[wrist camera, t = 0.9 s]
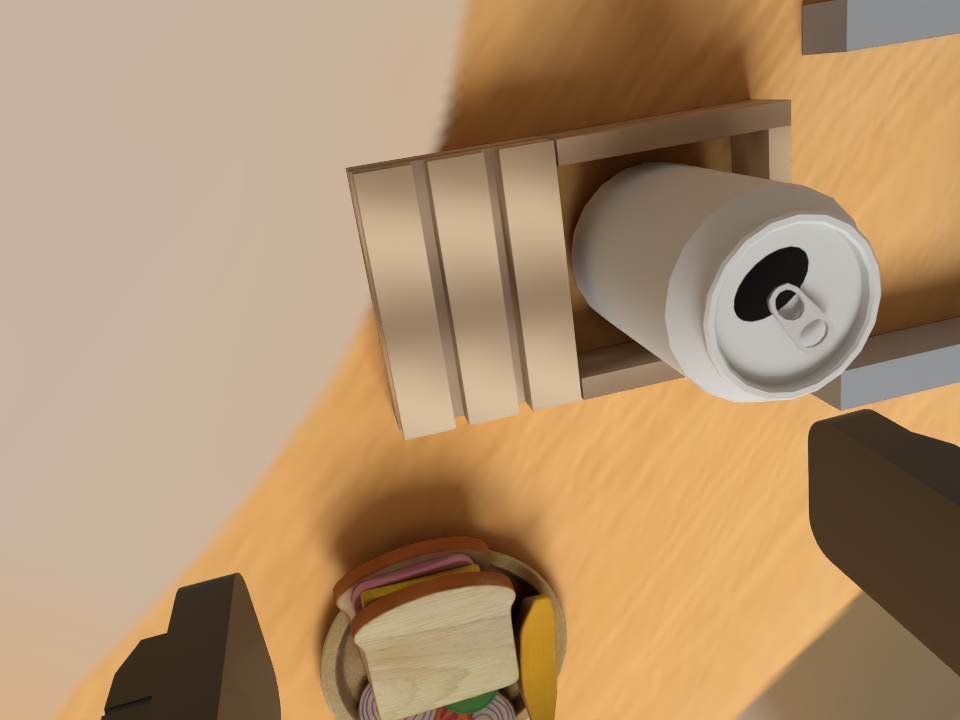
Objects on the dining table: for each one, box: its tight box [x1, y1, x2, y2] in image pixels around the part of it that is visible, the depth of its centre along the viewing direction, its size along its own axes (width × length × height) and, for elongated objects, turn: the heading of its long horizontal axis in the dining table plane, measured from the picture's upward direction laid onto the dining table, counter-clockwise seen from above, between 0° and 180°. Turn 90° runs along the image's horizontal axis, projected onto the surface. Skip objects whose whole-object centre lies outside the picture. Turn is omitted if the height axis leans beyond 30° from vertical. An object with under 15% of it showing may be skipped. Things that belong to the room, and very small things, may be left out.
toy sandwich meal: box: [320, 536, 567, 720], centre depth 38 cm, size 12×14×5 cm
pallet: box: [346, 99, 791, 440], centre depth 34 cm, size 11×18×3 cm, turn 98°
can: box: [571, 162, 881, 403], centre depth 30 cm, size 8×8×12 cm
